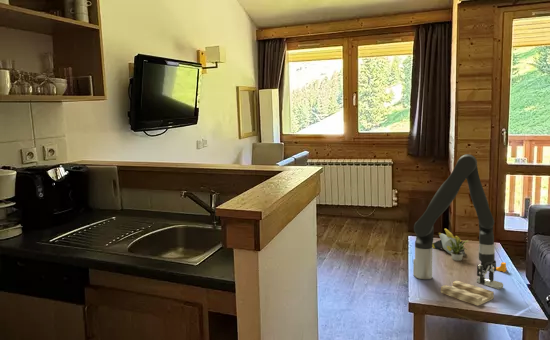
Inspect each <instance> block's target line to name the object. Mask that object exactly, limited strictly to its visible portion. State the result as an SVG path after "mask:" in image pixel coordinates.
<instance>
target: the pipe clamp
mask: <svg viewBox="0 0 550 340" xmlns="http://www.w3.org/2000/svg"><path fill="white" fill-rule="evenodd" d="M493 268H494V267H493ZM507 270H508V267H507V262H501V263H500V266H496V271H495V272H502V273H505V272H506V271H507Z"/></svg>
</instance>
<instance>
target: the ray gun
mask: <svg viewBox="0 0 550 340" xmlns="http://www.w3.org/2000/svg"><path fill="white" fill-rule="evenodd" d="M443 231H444V232H445V233H441V232H438V236H439V238H440V239H439V240H436V241H435V242H433V245H432V249H436V248H437V249H436V250H440V249H441V250H442V251H446V252H447V253H448V254H450V255H451V252H453V250H452V249H451V248H447V247H452V245H451V244H452V243H451V241H450V240H449V239H451V240H452V241H453V243H454V242H455V245H456V240H457V241H458V239H459V236H457V235H455V236H454V234H453V233H452V232H451V230H449V229H447V228H444V230H443ZM455 238H456V239H455ZM448 241H449V242H450V243H451V244H450V243H449V242H448ZM463 242H464V240H462V239H460V243H463ZM455 245H454V246H455ZM460 245H461V244H460ZM460 245H459V246H460ZM460 252H462V253H463V257H466V256H467V255H466V251H465V249H462V250H461V251H460Z"/></svg>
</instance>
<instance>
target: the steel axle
mask: <svg viewBox="0 0 550 340" xmlns="http://www.w3.org/2000/svg"><path fill="white" fill-rule="evenodd" d="M476 283H477V284H481V283H480V276H477V279H476ZM481 285H484V286H487V287H489V288H492V289H496V290H502V289H503V288H504V283H503V282H501V281H498V280H497V281H496V280H495V279H494V280H489V278H486V277H485V284H481Z"/></svg>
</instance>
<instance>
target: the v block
mask: <svg viewBox="0 0 550 340" xmlns="http://www.w3.org/2000/svg"><path fill="white" fill-rule="evenodd" d="M440 293H441V294H444V295H446V296H449V297H451V298H455V299H457V300H460V301H462V302H466V303H469V304H471V305H475V306H481V305H483V304H485V303H486V302H489V301H491V300H493V299H494V293H495V292H494V291H492V290H489V289H486V288H482V287H479V286H476V285H473V284H469V283H466V282H462V281H459V280H455V281H453V282H452V285H451V286H450V285H446V284H444V285H442V286H440Z"/></svg>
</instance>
